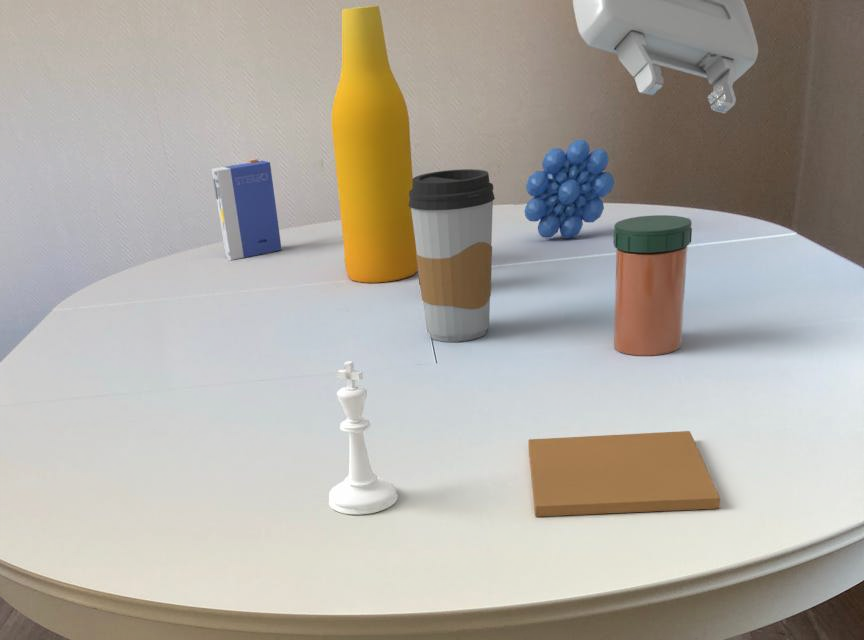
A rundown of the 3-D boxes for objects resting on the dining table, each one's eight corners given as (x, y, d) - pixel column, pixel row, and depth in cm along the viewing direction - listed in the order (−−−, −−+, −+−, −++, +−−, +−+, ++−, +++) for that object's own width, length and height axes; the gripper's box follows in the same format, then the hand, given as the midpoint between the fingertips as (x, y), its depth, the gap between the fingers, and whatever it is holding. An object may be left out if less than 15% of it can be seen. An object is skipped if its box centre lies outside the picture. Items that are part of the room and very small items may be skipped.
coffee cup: (463, 317, 113) (456, 166, 105) (515, 330, 107) (512, 171, 99) (401, 335, 109) (389, 180, 102) (452, 350, 104) (443, 187, 96)
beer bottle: (335, 284, 131) (306, 13, 116) (360, 265, 138) (336, 9, 123) (406, 283, 128) (386, 5, 113) (428, 264, 135) (412, 1, 120)
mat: (689, 440, 79) (690, 430, 79) (719, 508, 69) (720, 497, 69) (528, 448, 81) (528, 439, 80) (535, 517, 71) (535, 506, 70)
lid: (683, 233, 97) (685, 212, 96) (696, 249, 92) (697, 227, 91) (610, 238, 98) (610, 218, 97) (618, 255, 92) (618, 233, 91)
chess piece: (376, 519, 73) (362, 377, 67) (316, 509, 75) (297, 371, 69) (409, 490, 76) (398, 353, 71) (351, 482, 78) (336, 348, 73)
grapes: (608, 228, 145) (610, 132, 138) (615, 238, 139) (618, 138, 133) (522, 235, 146) (521, 139, 139) (526, 245, 140) (524, 146, 134)
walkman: (274, 247, 153) (262, 157, 147) (281, 250, 151) (269, 159, 145) (223, 257, 150) (209, 166, 144) (230, 260, 148) (215, 168, 142)
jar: (675, 334, 102) (682, 219, 96) (686, 353, 97) (694, 233, 91) (610, 338, 103) (613, 224, 97) (617, 357, 97) (621, 238, 92)
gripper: (587, -90, 90) (630, 50, 87) (747, -32, 100) (789, 94, 98) (542, -31, 95) (581, 103, 92) (698, 18, 106) (737, 139, 103)
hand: (689, 99), depth 95 cm, fingers open, 8 cm apart
